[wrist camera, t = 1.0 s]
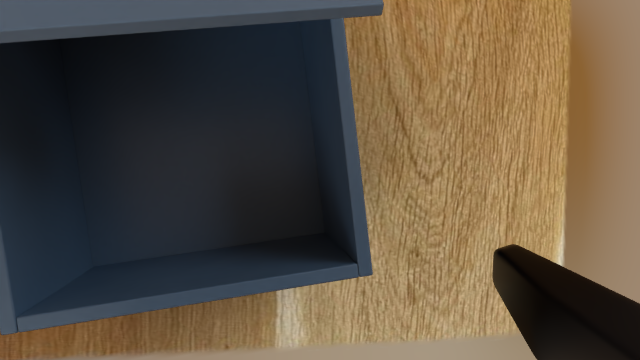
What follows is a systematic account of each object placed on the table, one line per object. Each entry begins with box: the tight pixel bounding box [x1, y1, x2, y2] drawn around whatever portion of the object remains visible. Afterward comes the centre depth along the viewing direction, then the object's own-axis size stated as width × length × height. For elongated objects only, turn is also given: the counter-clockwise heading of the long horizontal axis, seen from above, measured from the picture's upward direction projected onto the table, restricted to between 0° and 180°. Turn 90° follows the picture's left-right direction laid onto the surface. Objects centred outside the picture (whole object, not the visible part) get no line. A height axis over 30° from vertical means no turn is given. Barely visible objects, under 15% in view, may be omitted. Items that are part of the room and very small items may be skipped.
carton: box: [0, 18, 373, 335], centre depth 18 cm, size 13×12×8 cm
